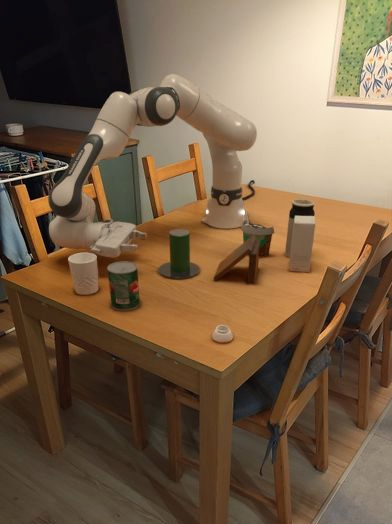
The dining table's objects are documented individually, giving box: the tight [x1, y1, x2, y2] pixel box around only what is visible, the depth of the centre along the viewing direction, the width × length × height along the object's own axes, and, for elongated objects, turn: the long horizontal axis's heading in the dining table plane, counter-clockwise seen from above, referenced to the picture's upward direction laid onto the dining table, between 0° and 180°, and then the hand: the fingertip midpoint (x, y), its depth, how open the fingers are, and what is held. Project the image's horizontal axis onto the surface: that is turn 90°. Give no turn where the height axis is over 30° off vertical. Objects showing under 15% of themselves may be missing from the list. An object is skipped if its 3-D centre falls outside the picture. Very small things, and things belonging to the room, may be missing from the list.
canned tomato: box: [106, 260, 141, 312], centre depth 125 cm, size 8×8×11 cm
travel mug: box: [284, 198, 316, 258], centre depth 153 cm, size 8×8×18 cm
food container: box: [240, 220, 275, 258], centre depth 156 cm, size 12×6×10 cm, turn 47°
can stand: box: [213, 235, 260, 285], centre depth 142 cm, size 12×12×11 cm
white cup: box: [67, 252, 99, 296], centre depth 133 cm, size 8×8×10 cm
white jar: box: [211, 324, 234, 343], centre depth 112 cm, size 5×3×5 cm
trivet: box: [158, 261, 201, 280], centre depth 147 cm, size 13×13×1 cm
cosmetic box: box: [289, 215, 316, 273], centre depth 145 cm, size 8×7×16 cm
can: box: [168, 228, 191, 273], centre depth 143 cm, size 6×13×13 cm
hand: (141, 242), depth 145 cm, fingers open, 8 cm apart
